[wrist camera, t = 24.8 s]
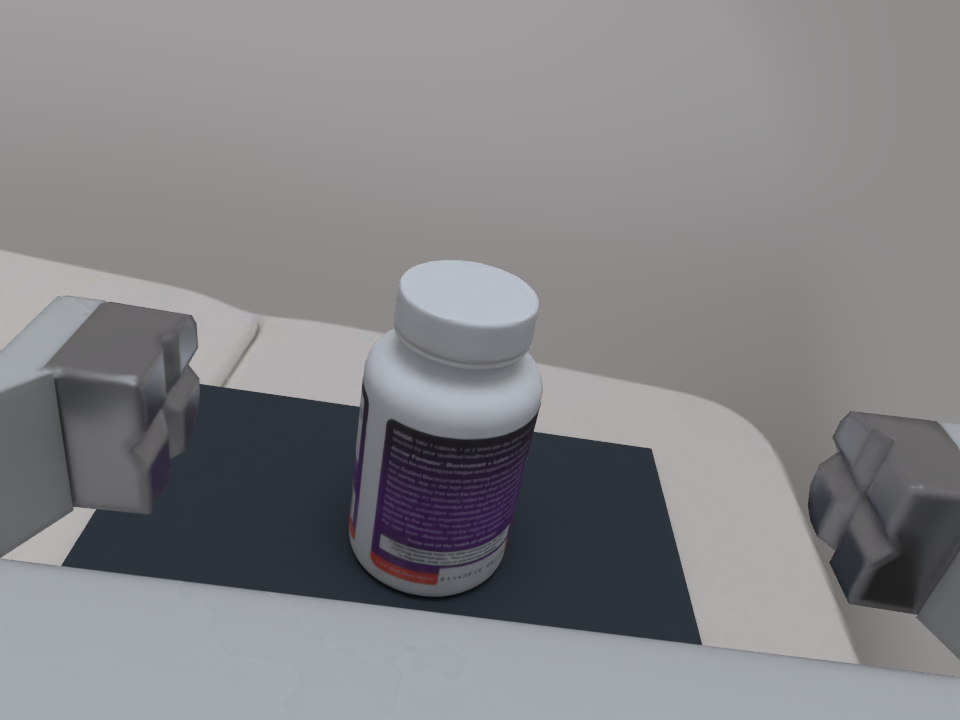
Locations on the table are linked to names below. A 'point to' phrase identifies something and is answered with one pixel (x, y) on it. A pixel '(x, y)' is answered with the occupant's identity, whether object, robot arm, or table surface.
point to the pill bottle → (445, 428)
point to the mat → (325, 524)
